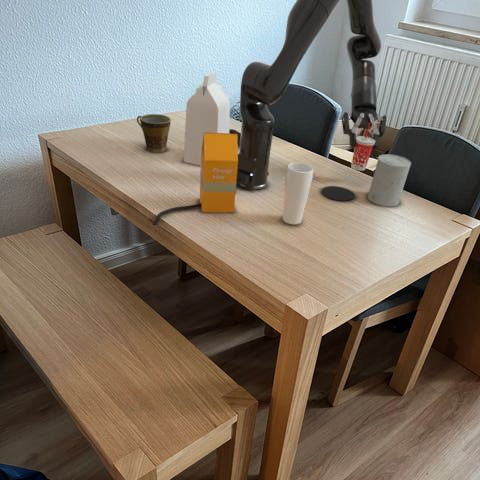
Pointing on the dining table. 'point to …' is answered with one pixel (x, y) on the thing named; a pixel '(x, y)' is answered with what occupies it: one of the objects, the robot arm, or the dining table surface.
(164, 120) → the ceramic cup
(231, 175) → the orange juice
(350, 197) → the coaster
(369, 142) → the beverage cup
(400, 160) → the grey wide plain cylinder
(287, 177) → the drinking glass
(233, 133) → the hairbrush
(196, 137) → the milk
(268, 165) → the robot arm
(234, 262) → the dining table surface
